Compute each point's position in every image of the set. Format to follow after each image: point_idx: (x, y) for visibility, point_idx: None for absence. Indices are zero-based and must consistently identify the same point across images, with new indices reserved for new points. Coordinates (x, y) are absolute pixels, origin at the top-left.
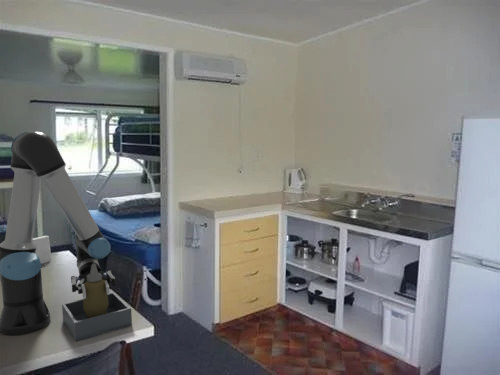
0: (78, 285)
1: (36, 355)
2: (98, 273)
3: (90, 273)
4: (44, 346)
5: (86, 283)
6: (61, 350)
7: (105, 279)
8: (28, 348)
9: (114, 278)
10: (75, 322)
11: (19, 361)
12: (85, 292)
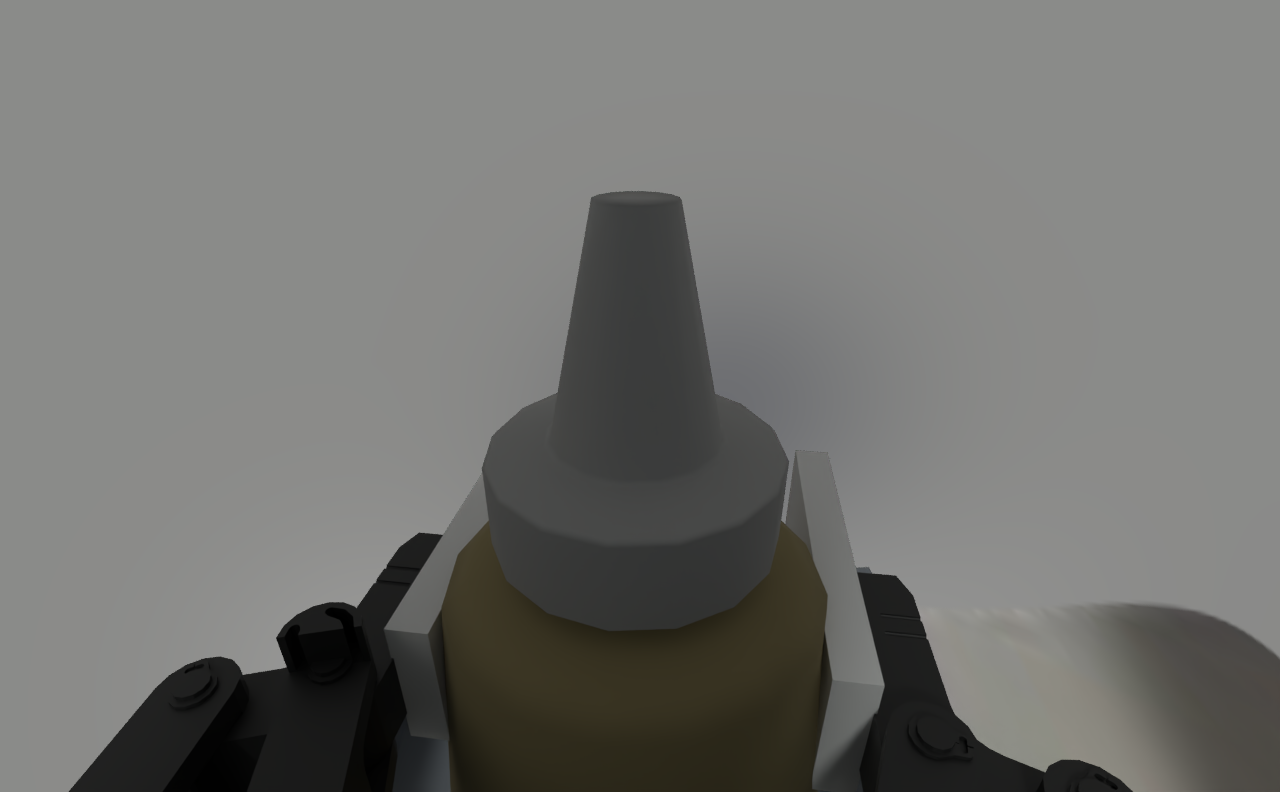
0: (950, 725)
1: (1082, 640)
2: (539, 443)
3: (712, 390)
4: (1084, 733)
5: (784, 532)
6: (924, 621)
7: (347, 719)
8: (1225, 770)
9: (190, 666)
10: (862, 570)
11: (1167, 625)
12: (795, 473)
